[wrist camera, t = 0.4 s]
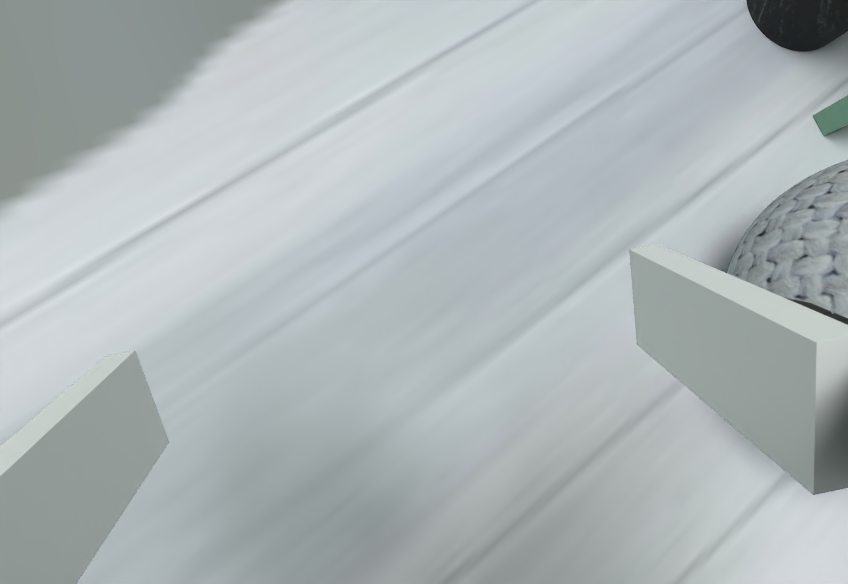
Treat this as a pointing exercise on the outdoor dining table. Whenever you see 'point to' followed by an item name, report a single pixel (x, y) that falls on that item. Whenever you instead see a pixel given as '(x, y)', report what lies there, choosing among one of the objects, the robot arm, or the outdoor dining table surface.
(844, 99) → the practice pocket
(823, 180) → the decorative ball
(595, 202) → the outdoor dining table surface
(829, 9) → the travel mug
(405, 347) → the outdoor dining table surface
